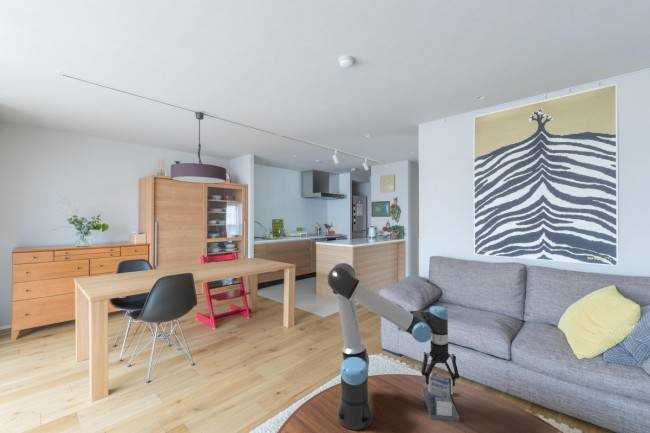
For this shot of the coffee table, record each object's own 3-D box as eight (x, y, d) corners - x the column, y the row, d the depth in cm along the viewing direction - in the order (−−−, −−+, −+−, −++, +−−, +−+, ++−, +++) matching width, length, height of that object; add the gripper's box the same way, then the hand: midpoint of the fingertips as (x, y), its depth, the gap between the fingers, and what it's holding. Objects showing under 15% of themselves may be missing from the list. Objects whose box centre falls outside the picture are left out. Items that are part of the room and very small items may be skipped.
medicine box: (430, 397, 131) (430, 378, 131) (431, 392, 135) (431, 373, 135) (449, 402, 127) (448, 382, 128) (450, 397, 131) (449, 377, 131)
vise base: (430, 418, 124) (429, 401, 124) (421, 390, 144) (421, 375, 145) (459, 421, 122) (459, 403, 122) (447, 392, 142) (446, 377, 143)
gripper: (416, 343, 130) (416, 394, 129) (466, 346, 126) (468, 399, 126) (413, 337, 137) (414, 385, 137) (461, 339, 134) (462, 389, 133)
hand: (440, 391), depth 131 cm, fingers closed on medicine box, 9 cm apart
